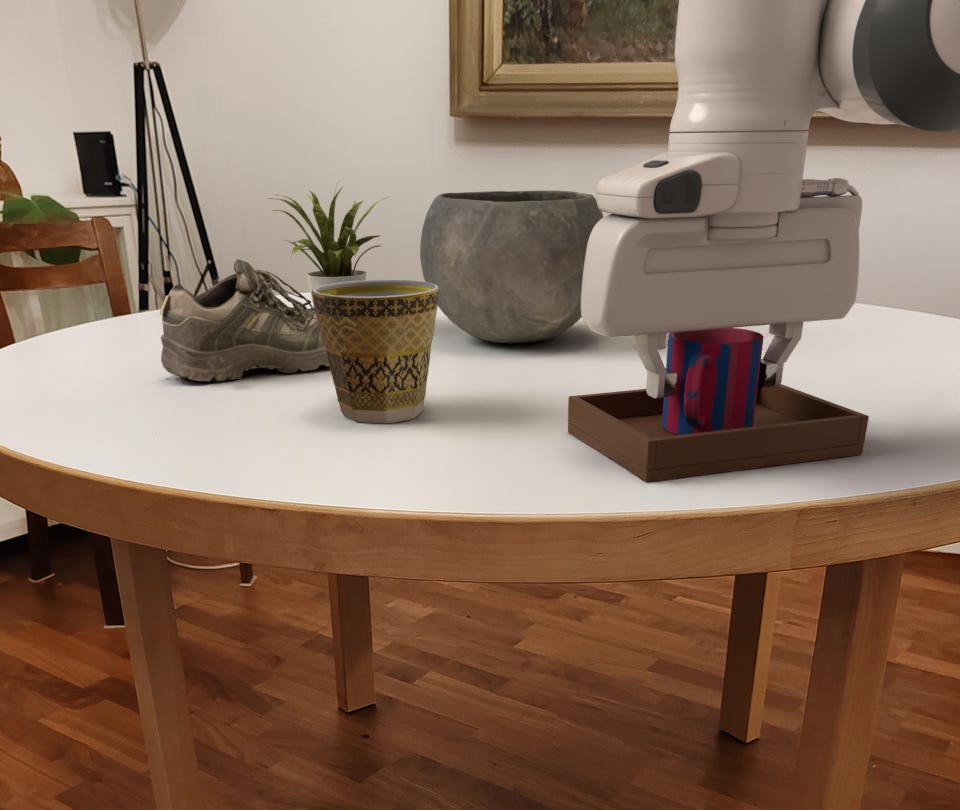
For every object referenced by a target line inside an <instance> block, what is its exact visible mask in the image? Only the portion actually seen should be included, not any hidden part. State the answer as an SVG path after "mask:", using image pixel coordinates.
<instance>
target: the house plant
mask: <svg viewBox="0 0 960 810" xmlns="http://www.w3.org/2000/svg"><path fill="white" fill-rule="evenodd" d="M339 183H340V181H338V182H337V184H336V186H335V189H334V192H333V197H332V200H331V202H330V205H329V210H328V216H327V214H326V212H325V211H324V209H323V208H322V206H321V204H320V201H319V198H318V197H317V195H316V193H314V192H313V191H312V190H309V193H310V194H311V196H310V195H309V194H307V196H308V198H309V199H310V201H311V202H312V205H313V206H312V213H313V216H314V218H315V219H314V220H315V221H316V224H317V227H318V230H319V232H318V230H317V229H316V227H315V226H314V224H313V222H312V221H311V219H310V217H308V214H307V213H306V212H305V210H304V209H303V207H302V206H301V205H300V204H299V203H298V202H297V201H296V200H295V199H293V198H291V197H289V196H286V195H283V194H278V197H279V196H280V197H283V198H287V199H288V200H287V199H283V198H273V197H269V198H268V197H266V199H267V200H278V201H282V202H283V203H286V204H287V205H289V206H290V207H292V208H293V209H294V210H295V211H296V212H297V213H298V214H299V215H300V216H301V217H302V219H303V220H304V221H305V223H306V224H307V225H308V226H309V228H310V230H311V231H312V233H313V235H314V237H315V238H316V240H317V241H318V243H319V244H320V246H321V248H322V251H321V250H320V249H319V247H318V246H317V245H316V244H315V242H314V241H313V239H312V238H311V236H310V234H309V233H308V232H307V230H306V229H305V228H304V226H303V225H302V223H301V222H300V221H299V220H298V219H297V218H296V217H295V216H294V215H293V214H292V213H290V212H287V211H285V210H282V209H273V210H271V211H273V212H282V213H284V214H286V215H287V216H289V217H290V218H291V219H293V221H294V222H295V223H296V224H297V225H298V226H299V228H300V229H301V230H302V232H303V233H304V234H305V236H306V238H302V239H299V240H297V241H291V240H288V239H283V241H285V242H289V243H290V244H292V245H293V247H292V250H291V253H290V257H292V256H293V255H295V253H297V252H299V253H302V254H304V255H305V256H306V257H307V258H308V259H309V260H310V261H311V262H312V263H313V264H314V266H315V267H316V268H317V269H318V270H315V271H311V272H307V273H306V274H305V276H306V280H307V284H308V289H309V292H310V296H311V302H312V306H314V303H313V297H312V290H313V289H314V288H316V287H319V286H322V285H327V284H332V283H339V282H347V281H361V280H367V272H366V271H365V270H361V269H360V270H359V269H356V267H357V265H358V263H359V261H360V260H361V257H363V256H364V255H365V254H366V253H367V252H368V251H370V250H371V249H374V248H379V247H382V245H379V244H377V245H373V246H370V247H368V248H367V249H365V250H364V251H363V252H362V253H361V254H360V255H359V256H358V257H357V260H356V261H355V264H354V267H353V266H352V265H353V264H352V258H353V257H356V255H357V253H358V252H359V250H360V247H361V246H362V245H365V244H366V243H368V242H370V241H371V240H374V239H376V238H380V237H381V235H380V234H379V235H375V234H373V235H367V236H363V237H361V238H358V239H357V234H356V233H357V230H358V228H359V227H360V225H361V224H362V222H363V221H364V219H365V218H366V217H367V216H368V214H370V212H371V211H372V210H373V208H374V207H375V206H376V205H378V204H379V203H380V202H381V201H383V200H386V199H387V198H389V196H387V197H384V198H381V199H379V200H378V201H376V202H374V203H373V204H372V205H371V206H370V207H369V208H368V209H367V210H366V211H365V212H364V214H363V215H362V217H361V218H360V219H359V220H358V222H357V224H356V226H355V227H354V229H353V226H354V221H355V219H356V216H357V212H358V210H359V208H360V207H361V205H362V203H363V202H364V200H361V201H358V202H357V199H355V200H354V202H353V203H352V207H351V208H350V209H349V210H348V211H347V212H346V213H345V215H344V217H343V219H342V222H341V226H340V230H339V234H338V237H337V241H336V240H335V212H336V211H335V210H336V201H337V199H338V197H339V194H340V193H341V191H342V189H343V188H344V185H343V186H341V188H340V189H339V190H338V191H337V192H336V190H337V187H338V184H339ZM273 195H274V196H276V194H273ZM289 200H290V201H289ZM297 243H299V244H301V245H298V244H297ZM307 251H310V252H312V254H313V256H314V257H315V259H316V260H317V261H315V259H313V257H312V256H311V255H309V253H308V252H307ZM318 263H319V264H318ZM320 266H321V267H320Z"/></svg>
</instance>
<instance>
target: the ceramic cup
mask: <svg viewBox="0 0 960 810" xmlns="http://www.w3.org/2000/svg"><path fill="white" fill-rule="evenodd" d="M312 297H313V301H312V304H313V303H314V305H313V308H315V313H316V317H317V321H318V325H319V329H320V333H321V336H322V340H323V343H324V346H325V349H326V353H327V357H328V362H329V366H328V367H329V369H330V373H331V377H332V382H333V385H334V389H335V393H336V394H335V395H336V397H337V401H338V405H339V409H340V412H341V414H342V415H343V417H346V418H348V419H350V420H352V421H354V422H356V423H368V424H392V423H393V424H394V423H399V422H404V421H405V422H406V421H410V420H411V421H412V420H414V419H415V418H416V417H418V415H420V414H421V413H422V412H423V409H424V407H425V400H426V394H427V393H426V392H427V384H428V376H429V368H430V361H431V350H432V343H433V338H434V334H435V328H436V322H437V321H436V320H437V312H438V306H437V305H438V286H437V285H435V284H432V283H428V282H425V281H422V280H411V279H366V280H361V281H347V282H339V283H332V284H327V285H322V286H319V287H316V288H314V289H313V290H312ZM312 297H311V298H312Z"/></svg>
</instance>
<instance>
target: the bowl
mask: <svg viewBox="0 0 960 810" xmlns="http://www.w3.org/2000/svg"><path fill="white" fill-rule="evenodd" d="M603 213H604V212H603V211H601V210H600V209H599V208H598V205H597V198H596V197H595V196H594V195H593V194H592V193H591V194H590V193H585V192H584V193H583V192H577V191H571V190H551V189H550V190H509V191H506V190H492V191H491V190H490V191H489V190H488V191H467V192H444V193H440V194H438V195H437V196H435V198H433V201H432V203H431V204H430V206H429V208H428V210H427V212H426V215H425V218H424V222H423V224H422V229H421V236H420V247H419V249H420V250H419V258H420V266H421V272H422V277H423V280H424V282H428V283H432V284H435V285H437V286H438V305H437V308H439V310H440V311H441V312H442V313H443V314H444V315H445V317H446V318H448V319H449V321H450V322H452V323H453V324H454V325H455V326H456V327H458V328H459V329H460V330H462V331H463V332H464V333H466V334H468V335H469V336H471V337H474V338H476V339H479V340H482V341H487V342H491V343H497V344H511V345H513V344H526V343H537V342H542V341H545V340H549V339H551V338H554V337H558V336H559V335H561V334H562V333H564V332H565V331H567V330H568V329H570V328H571V327H573V326H574V325H575V324H576V323H578V321H579V320H581V318H582V315H581V291H582V279H583V270H584V262H585V255H586V249H587V244H588V240H589V237H590V234H591V232H592V230H593V228H594V226H595V225H596V224H597V223H598V221H600V220H601V219H602V218H603V217H604V214H603Z"/></svg>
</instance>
